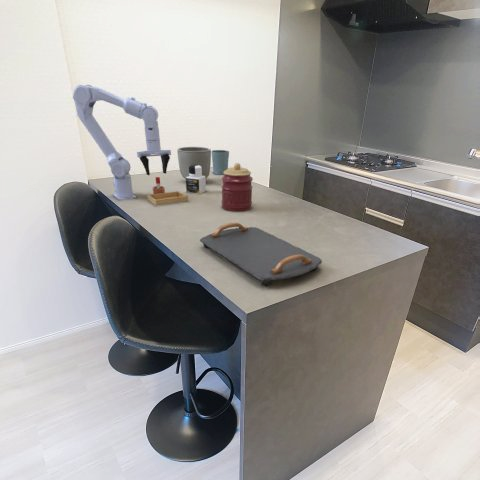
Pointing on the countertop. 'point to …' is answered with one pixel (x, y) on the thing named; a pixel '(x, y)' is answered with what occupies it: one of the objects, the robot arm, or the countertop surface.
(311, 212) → the countertop surface
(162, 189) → the cup
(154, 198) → the tray
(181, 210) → the countertop surface
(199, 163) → the planter
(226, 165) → the blue tapered pot
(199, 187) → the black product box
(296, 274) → the serving tray
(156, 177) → the marker
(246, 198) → the kitchen canister
